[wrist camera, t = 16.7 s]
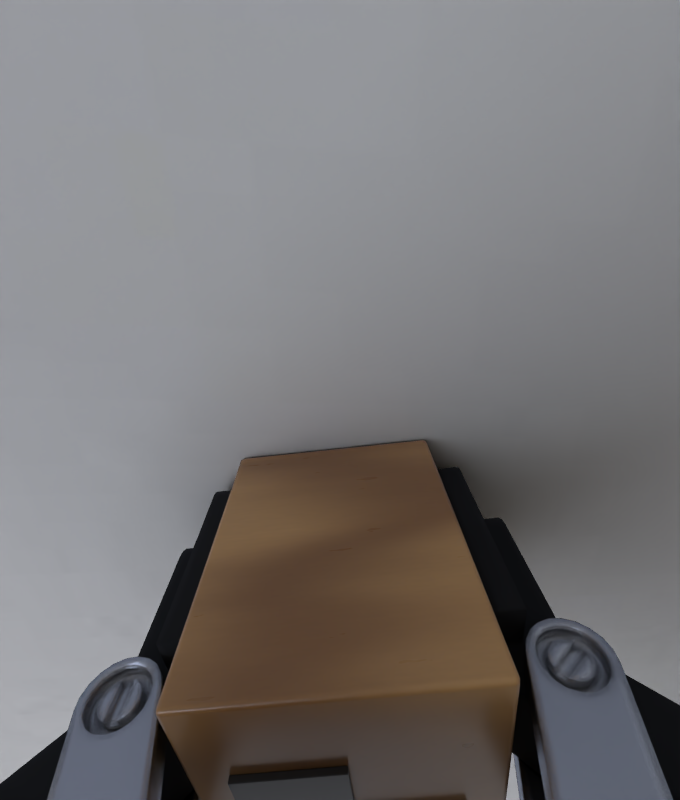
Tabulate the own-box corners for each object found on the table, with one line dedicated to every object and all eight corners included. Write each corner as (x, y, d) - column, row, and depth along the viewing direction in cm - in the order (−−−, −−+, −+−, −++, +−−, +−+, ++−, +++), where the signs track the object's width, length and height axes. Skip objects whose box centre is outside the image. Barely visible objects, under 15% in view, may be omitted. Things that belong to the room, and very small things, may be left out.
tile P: (426, 438, 10) (527, 691, 5) (429, 573, 12) (505, 856, 7) (240, 457, 10) (148, 723, 5) (273, 588, 12) (231, 877, 7)
